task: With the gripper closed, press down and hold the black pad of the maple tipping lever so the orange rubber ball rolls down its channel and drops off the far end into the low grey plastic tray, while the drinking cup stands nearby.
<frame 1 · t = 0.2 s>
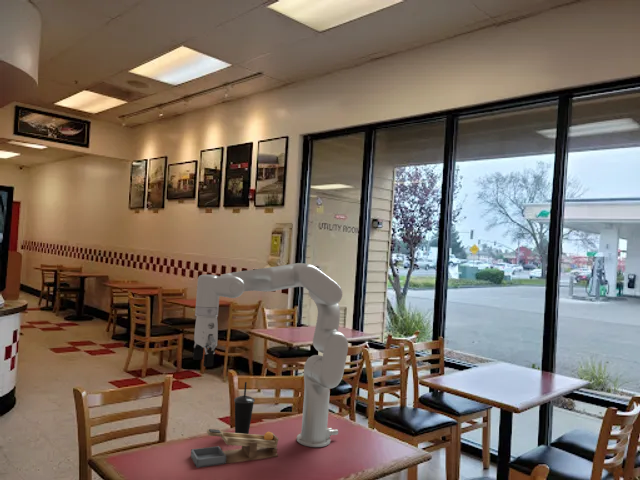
hand: (202, 362, 164), 31 cm above the table, tool pointing down, fingers open, 9 cm apart
ball: (268, 436, 171), point 5 cm above the table, tilted 6°, touching lever
tray: (208, 460, 161), on the table
lever: (242, 435, 169), point 6 cm above the table, hinge at -10.0°, touching ball
drinking cup: (241, 436, 183), on the table
catapult base: (248, 454, 167), on the table
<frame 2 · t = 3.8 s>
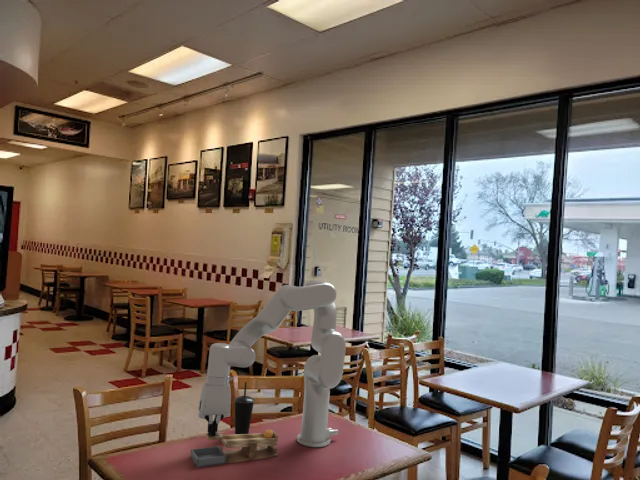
hand: (212, 434, 167), 6 cm above the table, tool pointing down, fingers closed
lever: (242, 436, 168), point 6 cm above the table, hinge at -3.6°, touching ball, gripper
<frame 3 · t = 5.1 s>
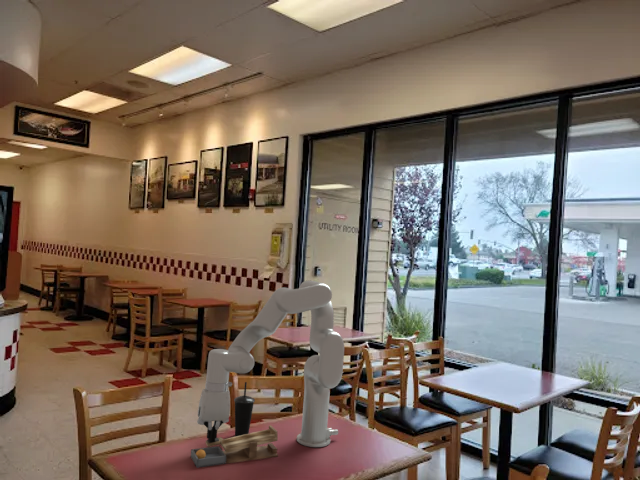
hand: (211, 440, 167), 4 cm above the table, tool pointing down, fingers closed
ball: (200, 454, 160), point 2 cm above the table, tilted 131°, touching tray
lever: (241, 437, 168), point 5 cm above the table, hinge at 6.2°, touching gripper
everything else where it was.
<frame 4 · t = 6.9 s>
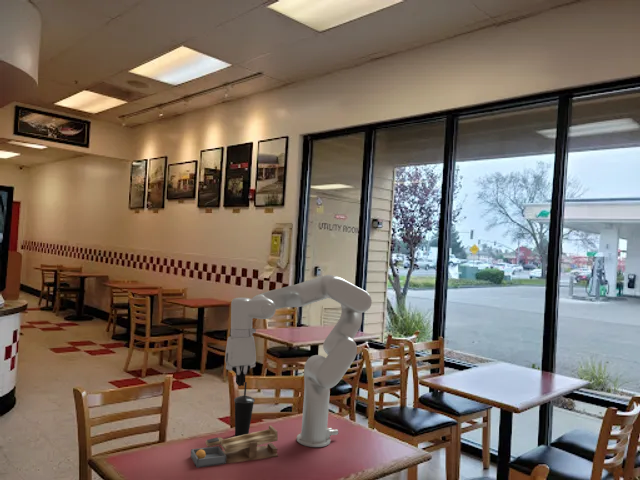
hand: (240, 384, 174), 22 cm above the table, tool pointing down, fingers closed
lever: (241, 437, 168), point 5 cm above the table, hinge at 6.2°
everything else where it was.
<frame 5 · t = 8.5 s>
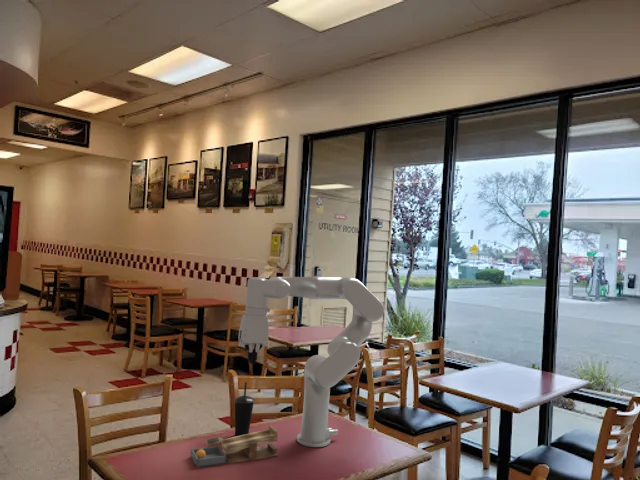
hand: (251, 362, 177), 29 cm above the table, tool pointing down, fingers closed
nothing on the table moved.
at the end: ball inside the target area on the tray (2.6 cm from its centre), point 2.1 cm above the tray's base; lever at +6° (first picture: -10°) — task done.
